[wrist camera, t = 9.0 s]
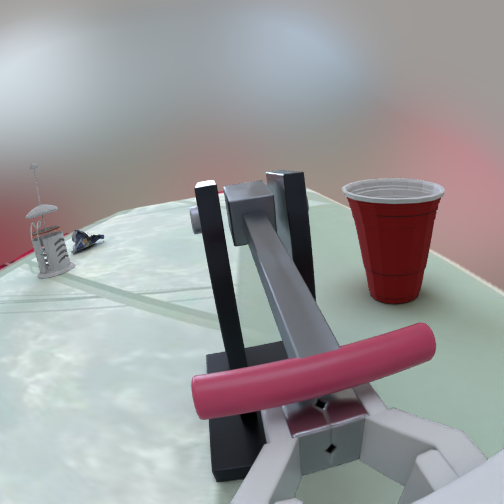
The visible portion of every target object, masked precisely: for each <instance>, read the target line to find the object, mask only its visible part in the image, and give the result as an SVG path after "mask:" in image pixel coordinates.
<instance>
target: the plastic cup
mask: <svg viewBox="0 0 504 504" xmlns="http://www.w3.org/2000/svg"><path fill="white" fill-rule="evenodd" d="M342 190H343V193H344V195H345V196H346V197H347V199H348V202H349V205H350V208H351V210H352V215H353V218H354V220H355V225H356V230H357V234H358V239H359V244H360V249H361V254H362V259H363V264H364V267H365V270H366V276H367V282H368V287H369V291H370V293H371V296H372V297H373V298H374V299H376V300H378V301H381V302H384V303H392V304H398V303H406V302H409V301H412V300H414V299H415V298H416V297H418V294H419V291H420V289H421V284H422V280H423V275H424V270H425V268H426V264H427V259H428V253H429V248H430V242H431V237H432V230H433V225H434V220H435V217H436V210H437V209H438V203H439V202H440V199H441V197H443V195H444V187H442V186H440V185H438V184H435V183H431V182H428V181H423V180H415V179H401V178H400V179H399V178H386V179H371V180H363V181H357V182H353V183H350V184H347V185H345V186H344V187H342Z"/></svg>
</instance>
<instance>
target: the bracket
mask: <svg viewBox="0 0 504 504" xmlns="http://www.w3.org/2000/svg"><path fill="white" fill-rule="evenodd" d="M266 177H267V185H268V188H269V189H270V191H271V192H272V193H273V195H274V201H275V212H276V224H277V234H278V236H279V237H280V239H281V241H282V243H283V244H284V246H285V248H286V250H287V251H288V253H289V255H290V257H291V259H292V260H293V262H294V264H295V266H296V267H297V269H298V271H299V273H300V275H301V276H302V278H303V280H304V282H305V283H306V285H307V287H308V289H309V291H310V292H311V294H312V296H313V298H314V300H315V302H316V295H315V281H314V268H313V257H312V245H311V235H310V225H309V215H308V211H309V206H308V199H307V196H306V188H305V180H304V173H303V172H298V171H285V170H279V171H272V172H266ZM195 195H196V201H197V207H191V208H190V216H191V223H192V228H193V232H194V234H200V233H202V236H203V241H204V247H205V252H206V258H207V263H208V268H209V273H210V279H211V284H212V289H213V294H214V299H215V304H216V309H217V314H218V319H219V323H220V328H221V333H222V338H223V342H224V347H225V351H226V352H220V353H214V354H208V355H206V364H207V374H210V373H217V372H223V371H229V370H234V369H240V368H245V367H251V366H256V365H261V364H266V363H271V362H276V361H281V360H285V359H289V358H288V355H287V352H286V349H285V347H284V344H283V341H279V342H274V343H269V344H264V345H259V346H254V347H249V348H244V343H243V338H242V332H241V327H240V321H239V316H238V310H237V304H236V299H235V293H234V287H233V281H232V275H231V270H230V264H229V258H228V252H227V246H226V240H225V234H224V227H223V221H222V215H221V209H220V202H219V196H218V190H217V185H216V183H215V181H214V180H211V181H205V182H200V183H197V185H196V187H195ZM209 432H210V449H211V464H212V472H213V475H214V477H215V479H216V481H217V482H221V481H229V480H236V479H242V478H245V477H246V476H247V474H248V472H249V471H250V469H251V467H252V465H253V464H254V462H255V460H256V458H257V457H258V455H259V453H260V451H261V450H262V448H263V446H264V444H267V441H266V436H265V431H264V425H263V420H262V414H261V410H260V411H255V412H249V413H244V414H238V415H232V416H226V417H219V418H213V419H209Z"/></svg>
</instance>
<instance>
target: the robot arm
mask: <svg viewBox="0 0 504 504" xmlns="http://www.w3.org/2000/svg"><path fill="white" fill-rule="evenodd" d="M261 414H262V420H263V425H264V431H265V436H266V441H267V444H264V446H263V448H262V450H261V451H260V453H259V455H258V457H257V458H256V460H255V462H254V464H253V465H252V467H251V469H250V471H249V472H248V474H247V476H246V477H245V479H244V481H243V483H242V484H241V486H240V488H239V489H238V491H237V493H236V494H235V496H234V497H233V499H232V501H231V502H230V504H303V502H302V500H299V499H296V498H294V496H295V494H296V491H297V488H298V486H299V483H300V480H301V476H303V475H307V474H310V473H314V472H317V471H320V470H324V469H327V468H330V467H334V466H337V465H341V464H344V463H348V462H351V461H354V460H358V459H360V461H362V462H363V463H365V464H366V465H368V466H370V467H372V468H373V469H375V470H377V471H378V472H380V473H382V474H383V475H385V476H387V477H389V478H390V479H392V480H394V481H396V482H398V483H399V484H401V485H403V486H405V488H404V490H403V493H402V495H401V497H400V500H399V502H398V504H504V448H503V449H502V450H501V451H499V452H498V453H497V454H495V455H494V456H492V457H491V458H489V459H487V457H486V456H485V455H484V454H483V453H482V452H481V451H480V449H479V448H478V447H477V446H476V445H475V444H474V442H473V441H472V440H471V439H470V438H469V437H468V436H467V434H466V433H465V432H464V431H462V430H459V429H455V428H452V427H449V426H446V425H443V424H439V423H436V422H433V421H430V420H427V419H424V418H421V417H418V416H416V415H413V414H410V413H407V412H404V411H401V410H399V409H396V408H390V409H388V408H387V406H386V405H385V404H384V402H383V401H382V400H381V398H380V397H379V395H378V394H377V393H376V391H375V390H374V389H373V387H372V386H371V385H370V383H366V384H362V385H359V386H356V387H353V388H349V389H346V390H343V391H339V392H336V393H332V394H328V395H325V396H321V397H317V398H313V399H309V400H305V401H301V402H297V403H293V404H288V405H284V406H279V407H275V408H270V409H265V410H261Z"/></svg>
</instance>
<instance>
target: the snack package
mask: <svg viewBox="0 0 504 504" xmlns="http://www.w3.org/2000/svg"><path fill="white" fill-rule="evenodd" d="M99 239H104V235H93V236H92V235H91V237H89V236H88V235H87V234H86V233H85V232H82V231H79V230H75V231H74V233H73V235H72V241H73V242H75V243H76V244H75V245H74V246H73V251H71V252H72V253H74V254H75V252H77V251H79V250H82V249H84V248H86V247H88V246H90V245H92V244H94V243H95V242H96V241H97V240H99Z"/></svg>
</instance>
